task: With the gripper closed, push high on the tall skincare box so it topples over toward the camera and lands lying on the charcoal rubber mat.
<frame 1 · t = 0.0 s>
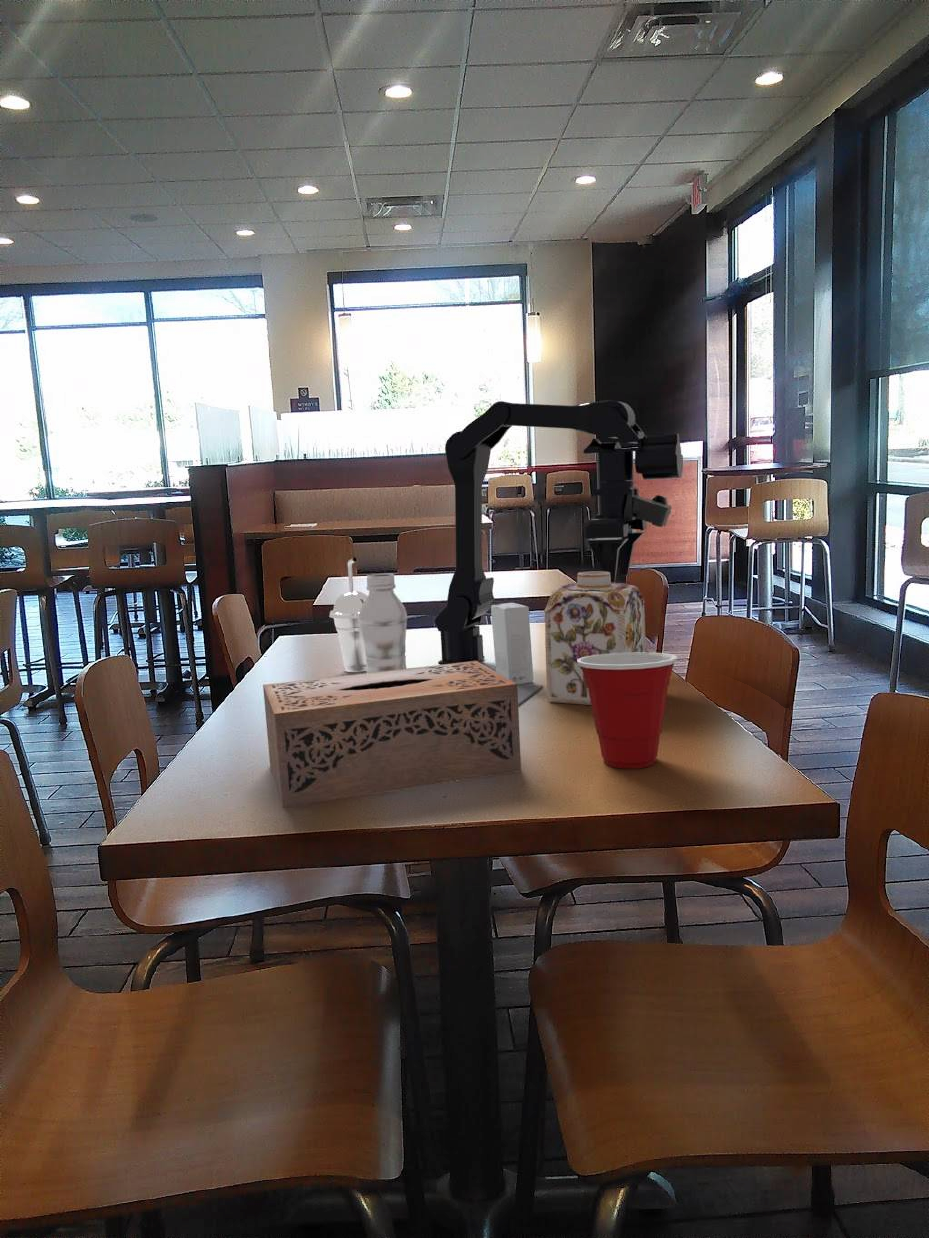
hand: (617, 578, 144), 15 cm above the table, fingers open, 9 cm apart
plastic cup: (628, 762, 99), on the table
cup with straw: (357, 671, 155), on the table
skincare box: (513, 681, 141), on the table
tissue box cover: (391, 772, 100), on the table
decorative jar: (598, 697, 128), on the table
plastic bottle: (390, 724, 119), on the table
mat: (489, 696, 131), on the table
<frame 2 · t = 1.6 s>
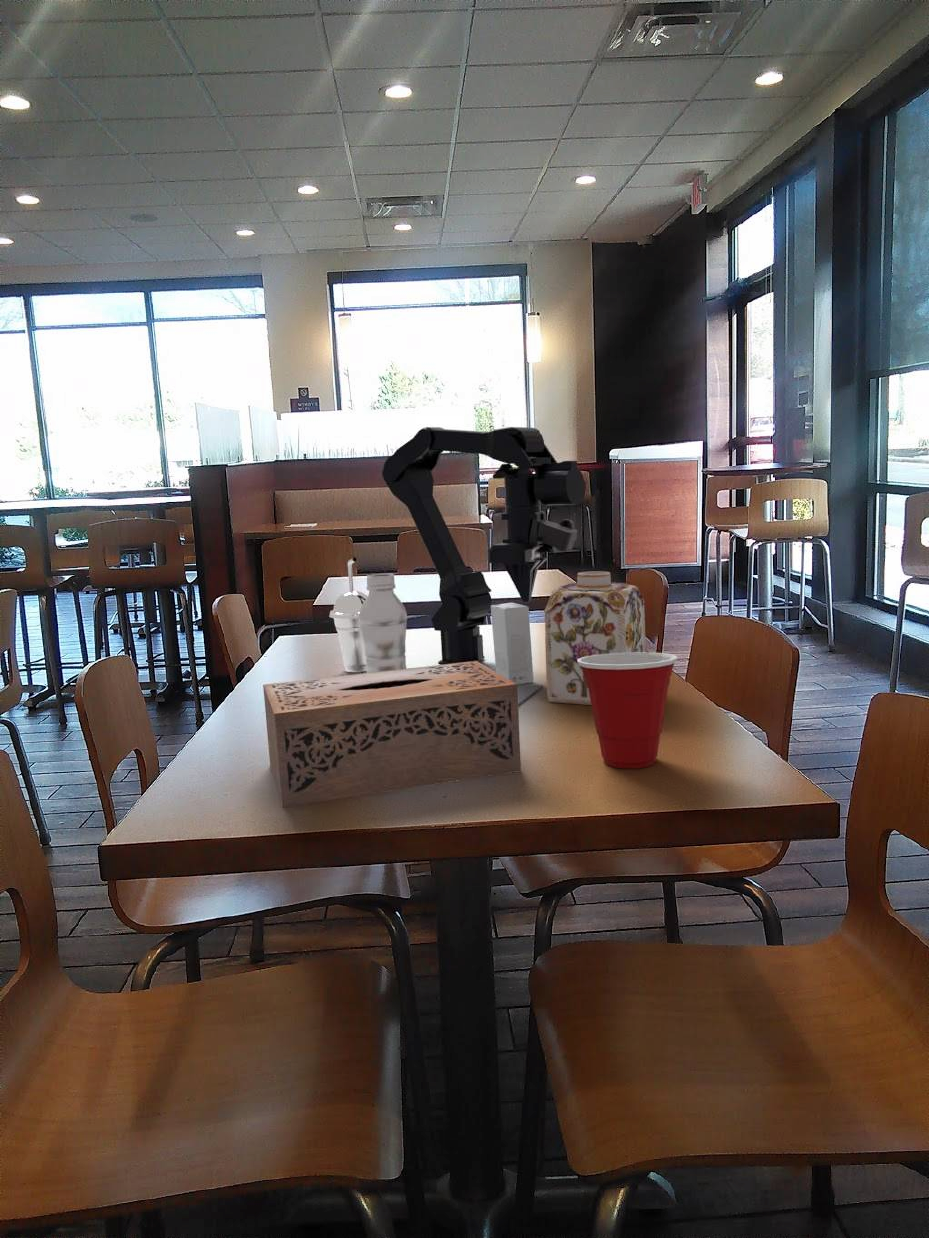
hand: (526, 601, 146), 11 cm above the table, fingers closed
nothing on the table moved.
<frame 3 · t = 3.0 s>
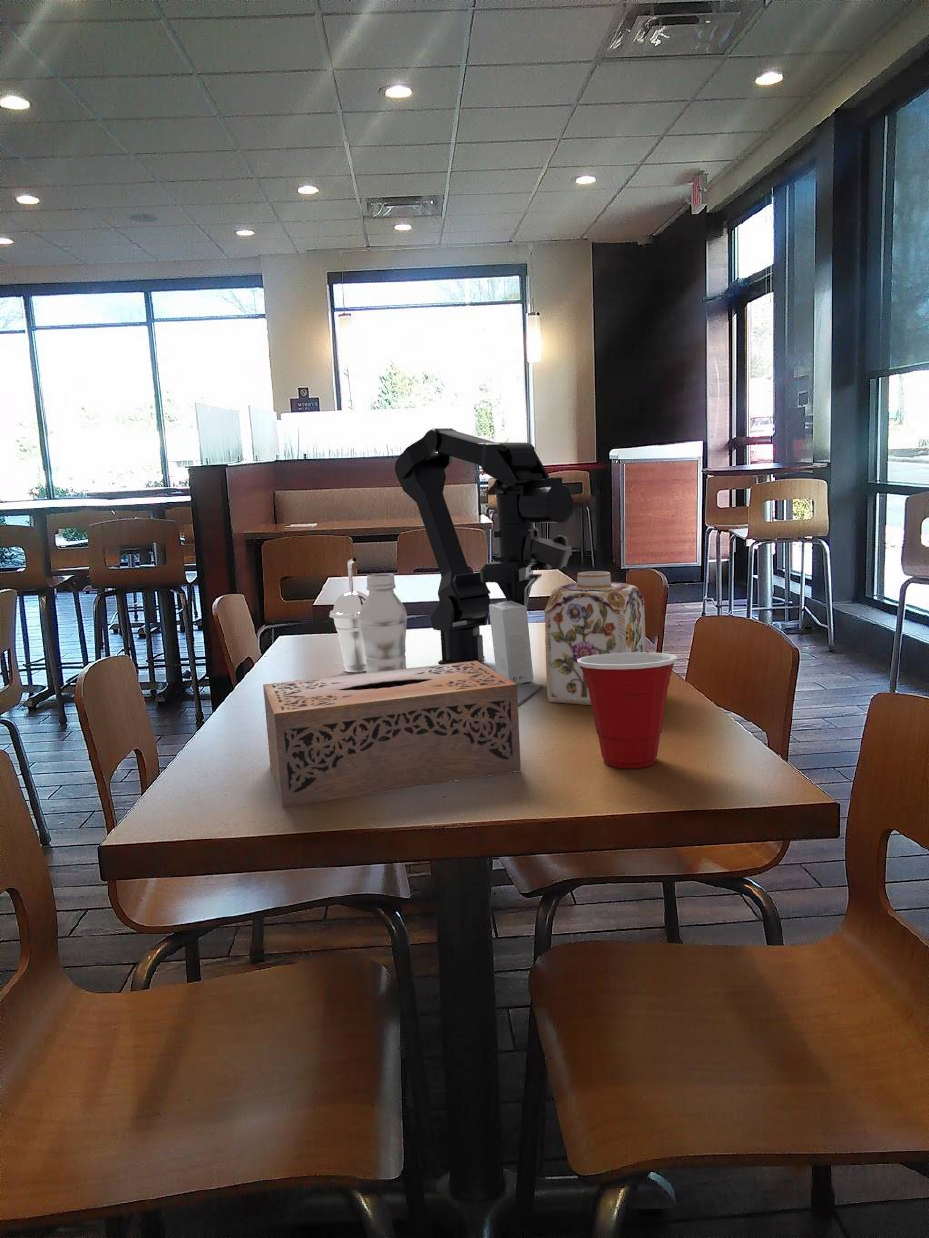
hand: (520, 619, 143), 9 cm above the table, fingers closed
skincare box: (513, 680, 141), on the table, touching gripper, mat
everything else where it was.
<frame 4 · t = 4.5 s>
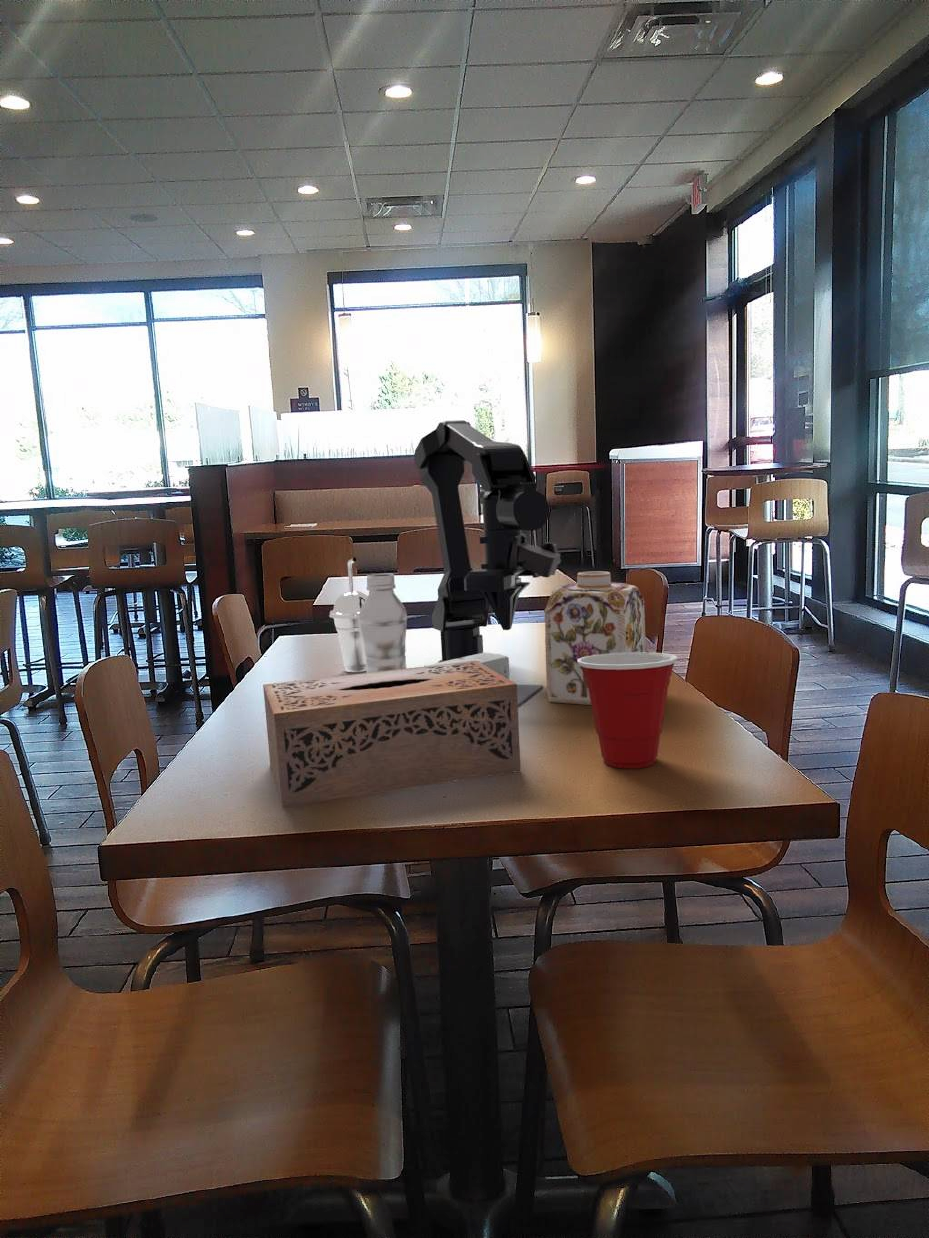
hand: (507, 629, 137), 9 cm above the table, fingers closed
skincare box: (497, 667, 140), point 2 cm above the table, touching mat
everything else where it was.
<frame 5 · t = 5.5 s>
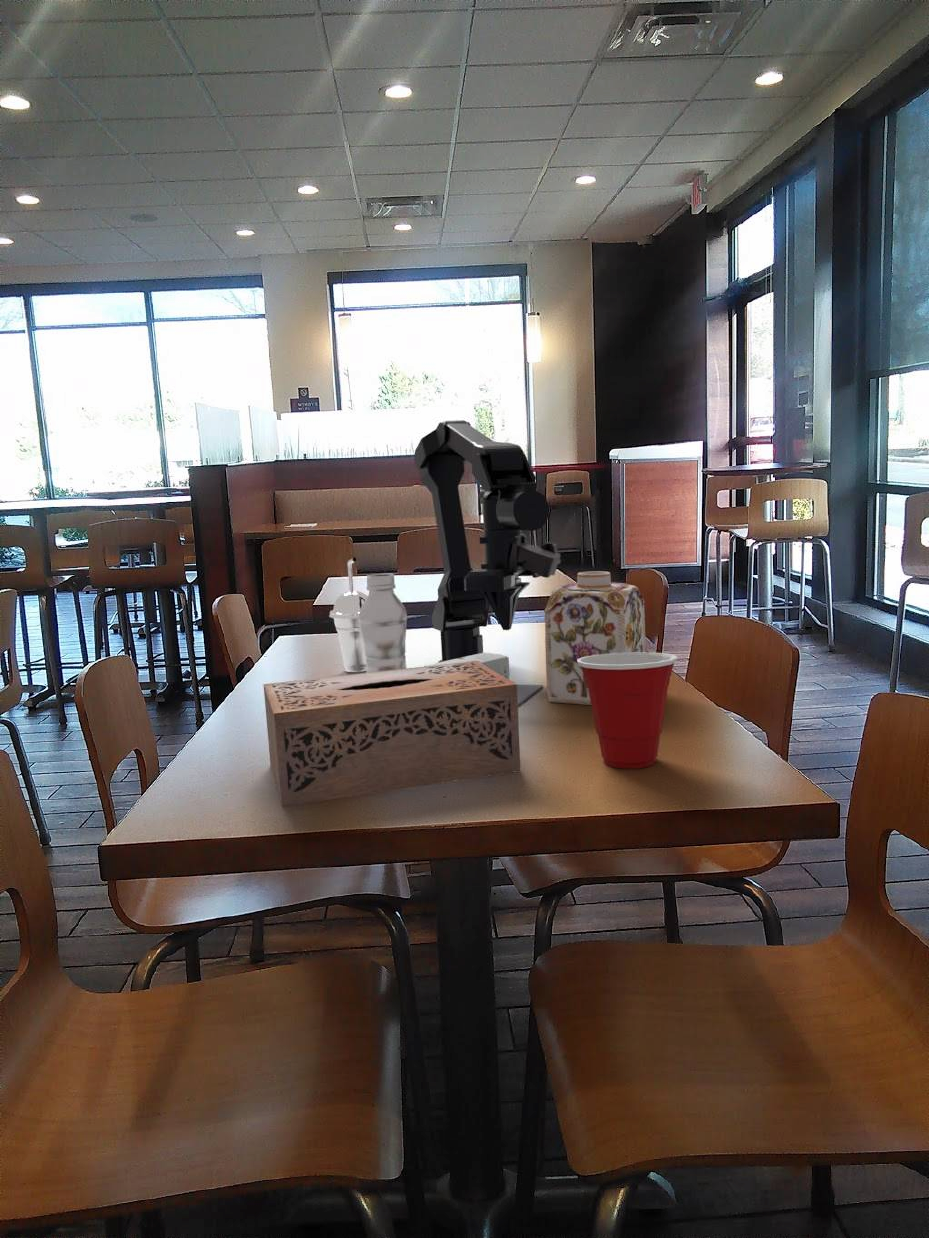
hand: (507, 629, 137), 8 cm above the table, fingers closed
nothing on the table moved.
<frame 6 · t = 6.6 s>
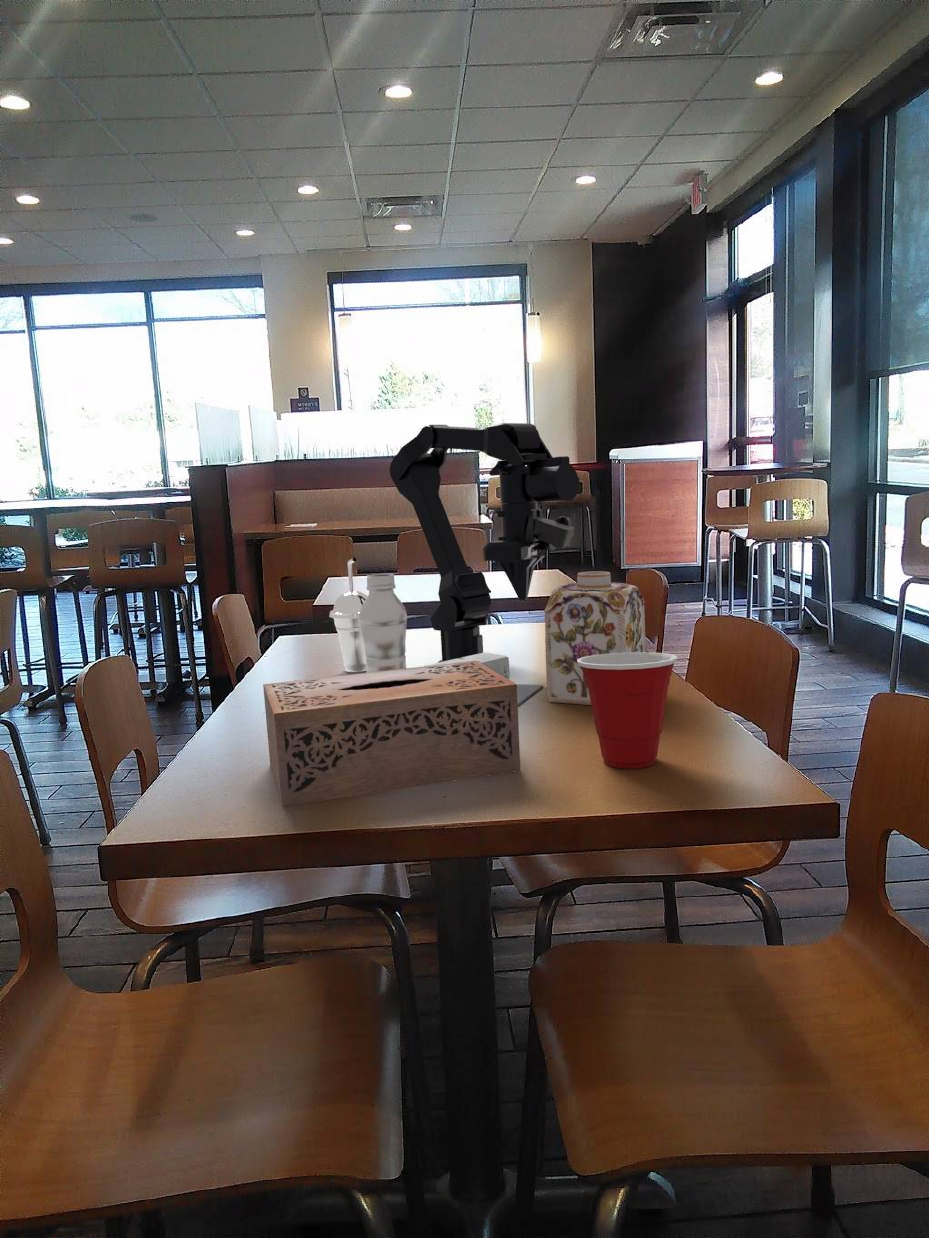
hand: (523, 599, 144), 12 cm above the table, fingers closed
nothing on the table moved.
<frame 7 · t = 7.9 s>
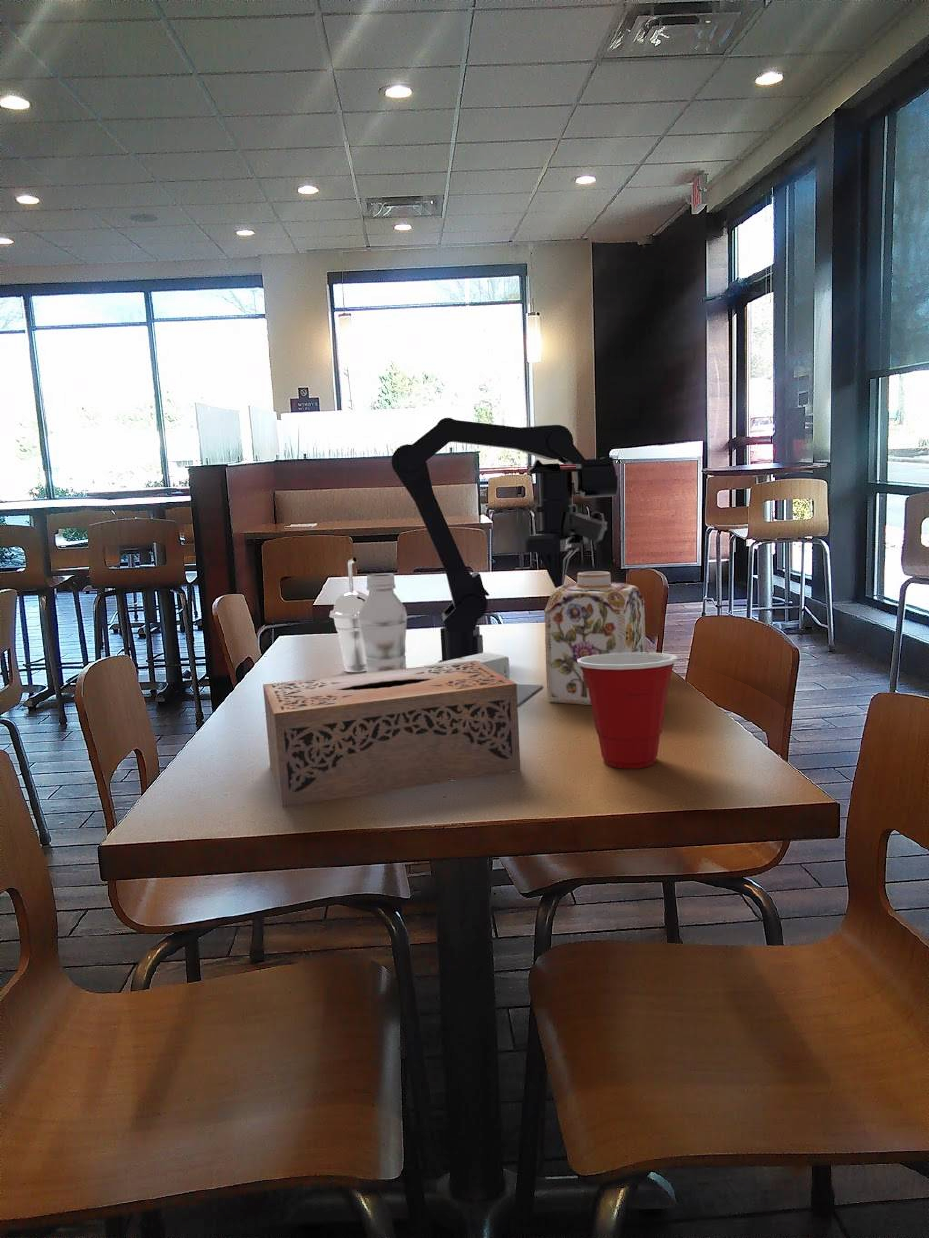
hand: (559, 588, 156), 12 cm above the table, fingers closed
nothing on the table moved.
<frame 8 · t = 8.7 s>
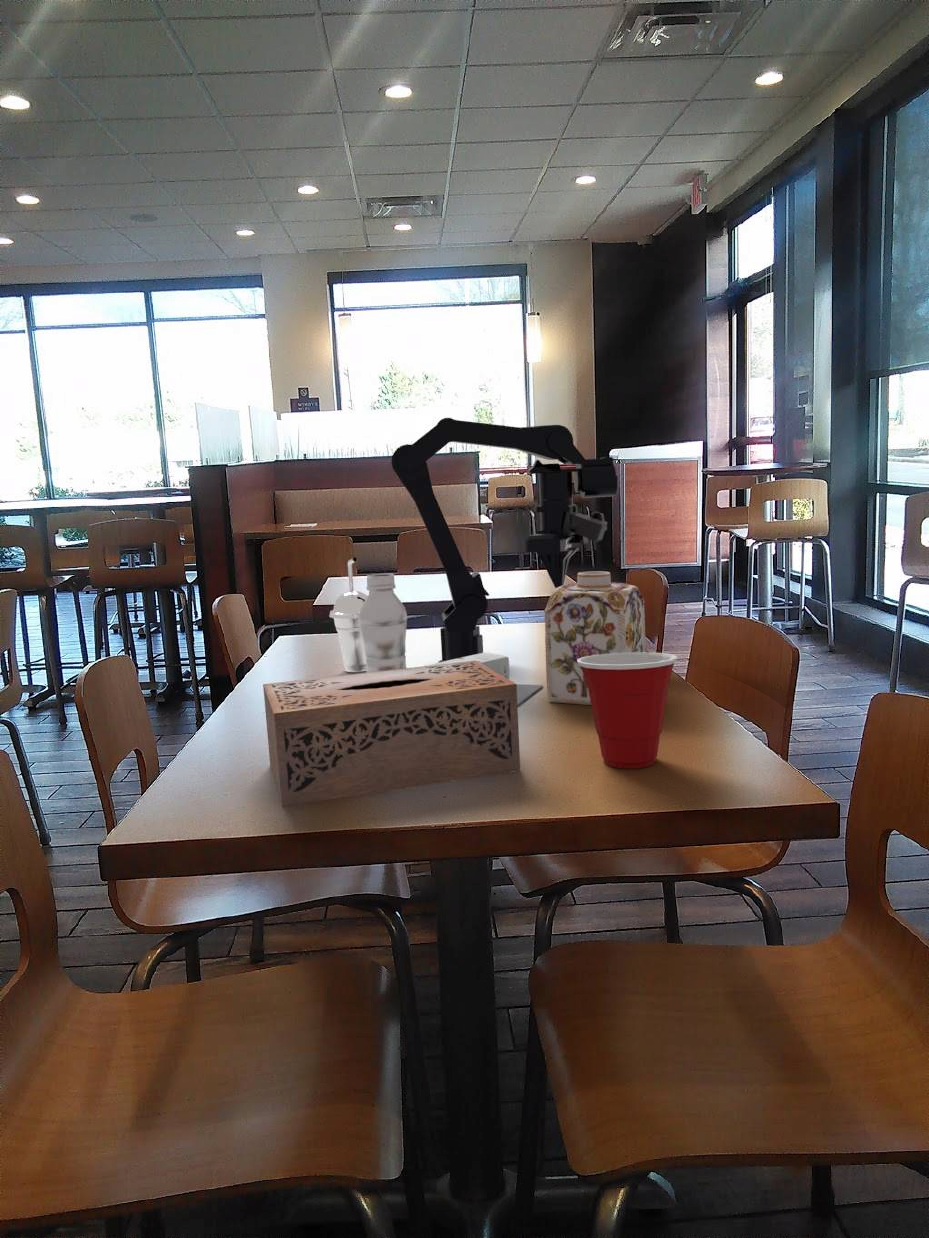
hand: (559, 588, 156), 12 cm above the table, fingers closed
nothing on the table moved.
at the end: skincare box tilted 89°; skincare box inside the target area (8.5 cm from its centre), point 2.3 cm above the table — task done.
